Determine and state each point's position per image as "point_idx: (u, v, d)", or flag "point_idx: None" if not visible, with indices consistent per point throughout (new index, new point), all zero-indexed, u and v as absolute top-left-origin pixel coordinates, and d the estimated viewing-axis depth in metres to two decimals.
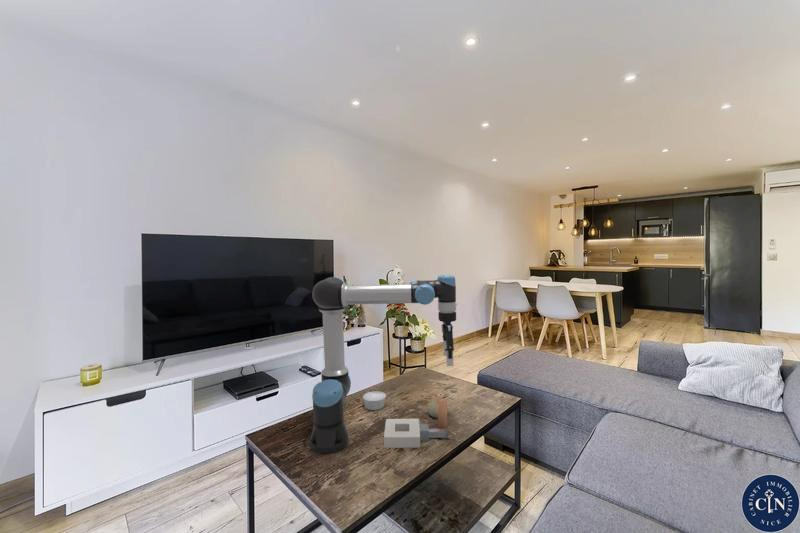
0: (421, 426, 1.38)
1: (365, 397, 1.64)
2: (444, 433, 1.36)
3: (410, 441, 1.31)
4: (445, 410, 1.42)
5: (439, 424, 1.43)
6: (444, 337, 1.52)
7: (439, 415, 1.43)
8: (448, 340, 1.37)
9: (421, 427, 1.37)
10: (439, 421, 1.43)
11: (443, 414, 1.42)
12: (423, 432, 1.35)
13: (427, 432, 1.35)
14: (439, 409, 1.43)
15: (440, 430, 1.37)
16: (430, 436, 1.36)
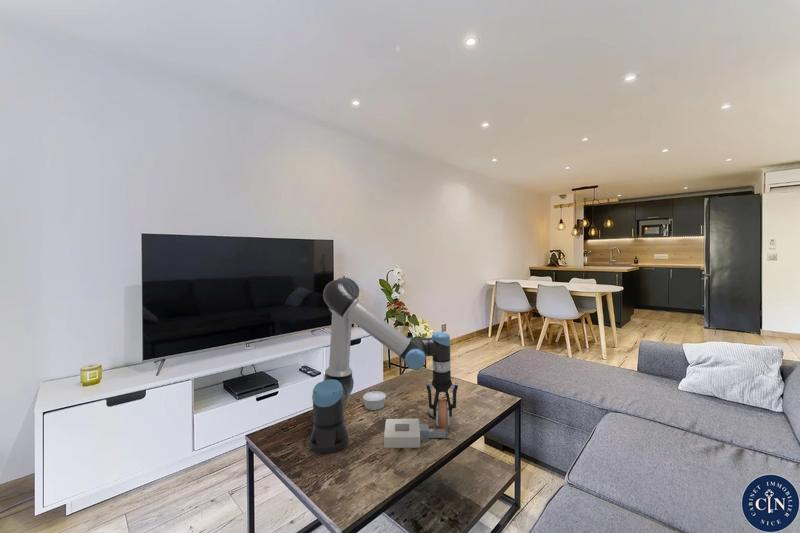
0: (421, 426, 1.38)
1: (365, 397, 1.64)
2: (444, 433, 1.36)
3: (410, 441, 1.31)
4: (445, 410, 1.42)
5: (439, 424, 1.43)
6: None
7: (439, 415, 1.43)
8: (428, 397, 1.44)
9: (421, 427, 1.37)
10: (439, 421, 1.43)
11: (443, 414, 1.42)
12: (423, 432, 1.35)
13: (427, 432, 1.35)
14: (439, 409, 1.43)
15: (440, 430, 1.37)
16: (430, 436, 1.36)
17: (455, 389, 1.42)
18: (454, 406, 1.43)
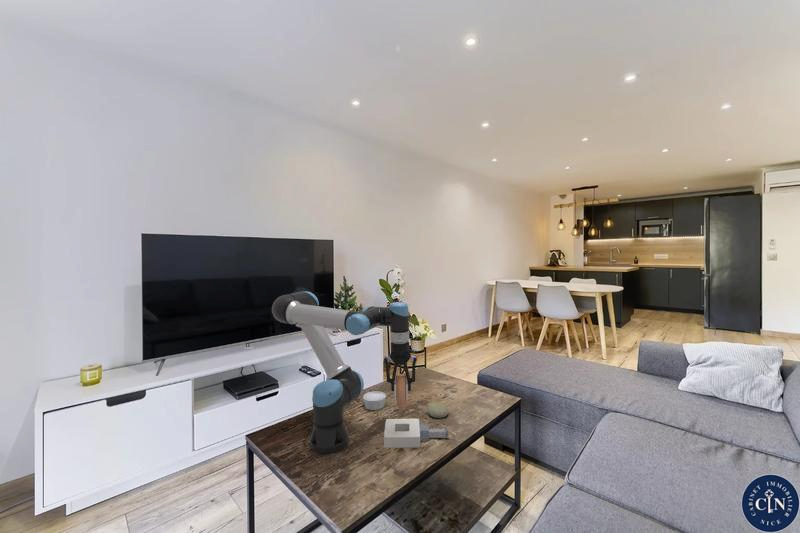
0: (421, 426, 1.38)
1: (365, 397, 1.64)
2: (444, 433, 1.36)
3: (410, 441, 1.31)
4: (403, 386, 1.35)
5: (397, 401, 1.36)
6: None
7: (397, 392, 1.35)
8: None
9: (421, 427, 1.37)
10: (397, 398, 1.36)
11: (401, 390, 1.35)
12: (423, 432, 1.35)
13: (427, 432, 1.35)
14: (397, 385, 1.35)
15: (440, 430, 1.37)
16: (430, 436, 1.36)
17: (414, 362, 1.35)
18: (413, 380, 1.35)
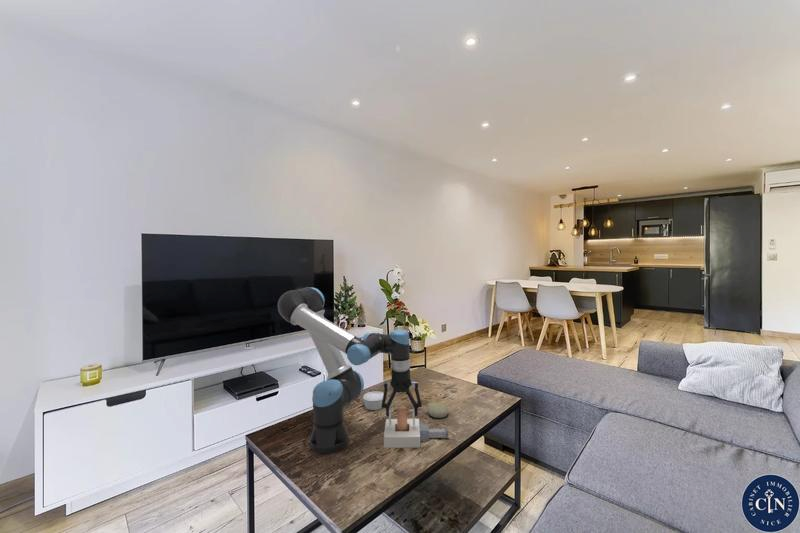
0: (421, 426, 1.38)
1: (365, 397, 1.64)
2: (444, 433, 1.36)
3: (410, 441, 1.31)
4: (404, 419, 1.36)
5: None
6: None
7: (398, 424, 1.36)
8: None
9: (421, 427, 1.37)
10: (398, 430, 1.36)
11: (402, 423, 1.35)
12: (423, 432, 1.35)
13: (427, 432, 1.35)
14: (398, 418, 1.36)
15: (440, 430, 1.37)
16: (430, 436, 1.36)
17: (416, 387, 1.35)
18: (419, 405, 1.36)
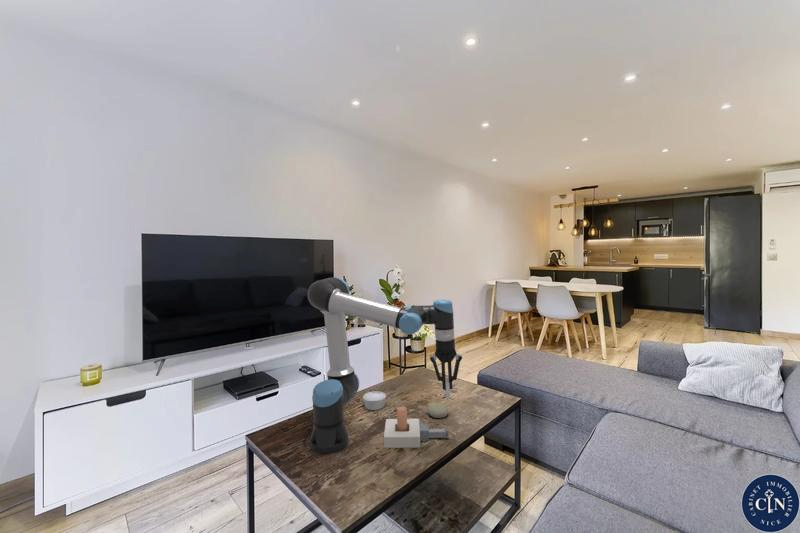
0: (421, 426, 1.38)
1: (365, 397, 1.64)
2: (444, 433, 1.36)
3: (410, 441, 1.31)
4: (404, 419, 1.36)
5: None
6: (448, 373, 1.36)
7: (398, 424, 1.36)
8: None
9: (421, 427, 1.37)
10: None
11: (402, 423, 1.35)
12: (423, 432, 1.35)
13: (427, 432, 1.35)
14: (398, 418, 1.36)
15: (440, 430, 1.37)
16: (430, 436, 1.36)
17: (459, 360, 1.34)
18: (454, 378, 1.34)
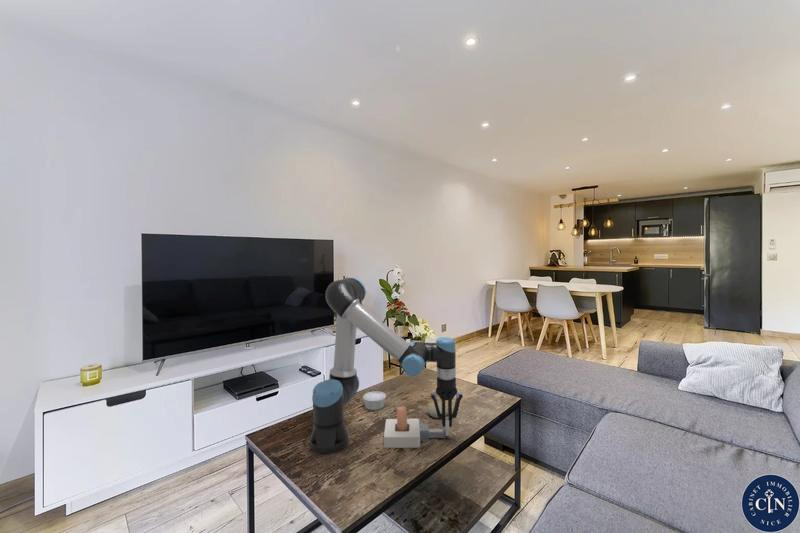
0: (421, 426, 1.38)
1: (365, 397, 1.64)
2: (442, 433, 1.36)
3: (410, 441, 1.31)
4: (404, 419, 1.36)
5: None
6: (448, 410, 1.38)
7: (398, 424, 1.36)
8: None
9: (421, 427, 1.37)
10: (398, 430, 1.36)
11: (402, 423, 1.36)
12: (423, 432, 1.35)
13: (427, 432, 1.35)
14: (398, 418, 1.36)
15: (438, 430, 1.37)
16: None
17: (459, 398, 1.35)
18: (454, 416, 1.36)
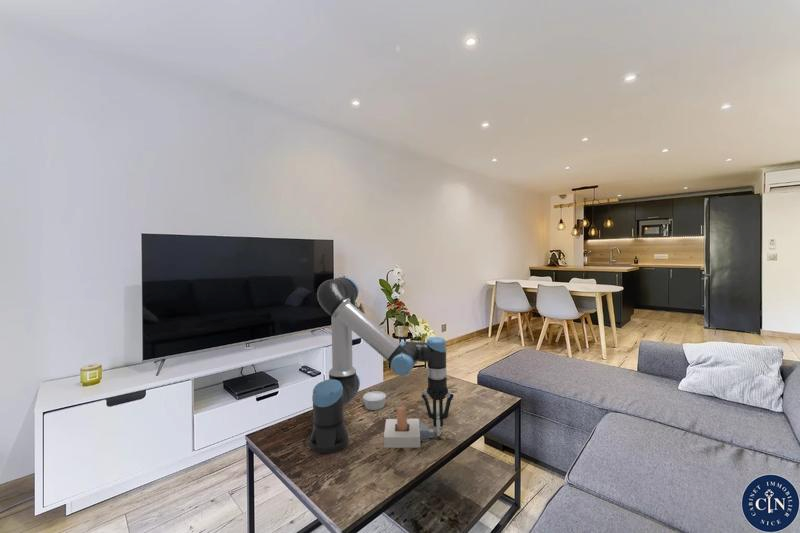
0: (421, 426, 1.38)
1: (365, 397, 1.64)
2: (433, 433, 1.36)
3: (410, 441, 1.31)
4: (404, 419, 1.36)
5: None
6: (439, 410, 1.38)
7: (398, 424, 1.36)
8: None
9: (421, 427, 1.37)
10: (398, 430, 1.36)
11: (402, 423, 1.36)
12: (423, 432, 1.35)
13: (427, 432, 1.35)
14: (398, 418, 1.36)
15: (429, 430, 1.37)
16: None
17: (450, 398, 1.35)
18: (445, 415, 1.36)
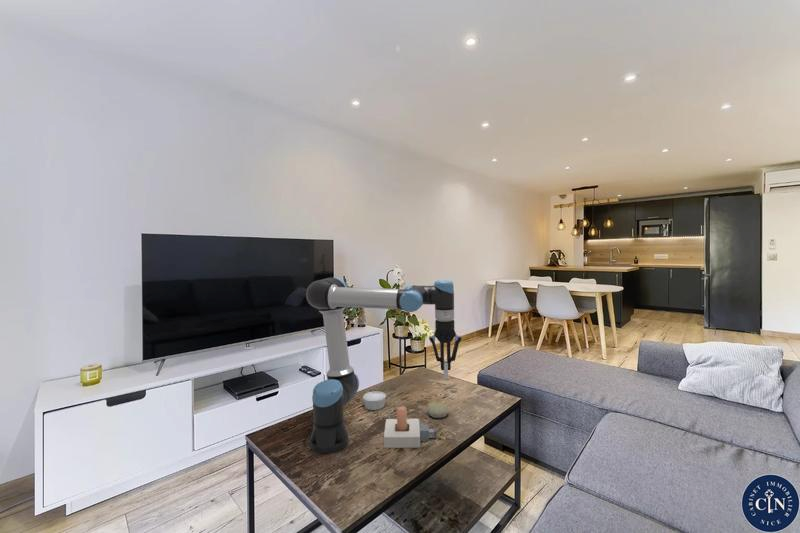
0: (421, 426, 1.38)
1: (365, 397, 1.64)
2: (433, 433, 1.36)
3: (410, 441, 1.31)
4: (404, 419, 1.36)
5: None
6: None
7: (398, 424, 1.36)
8: None
9: (421, 427, 1.37)
10: (398, 430, 1.36)
11: (402, 423, 1.36)
12: (423, 432, 1.35)
13: (427, 432, 1.35)
14: (398, 418, 1.36)
15: (429, 430, 1.37)
16: None
17: (458, 341, 1.34)
18: (453, 358, 1.34)
